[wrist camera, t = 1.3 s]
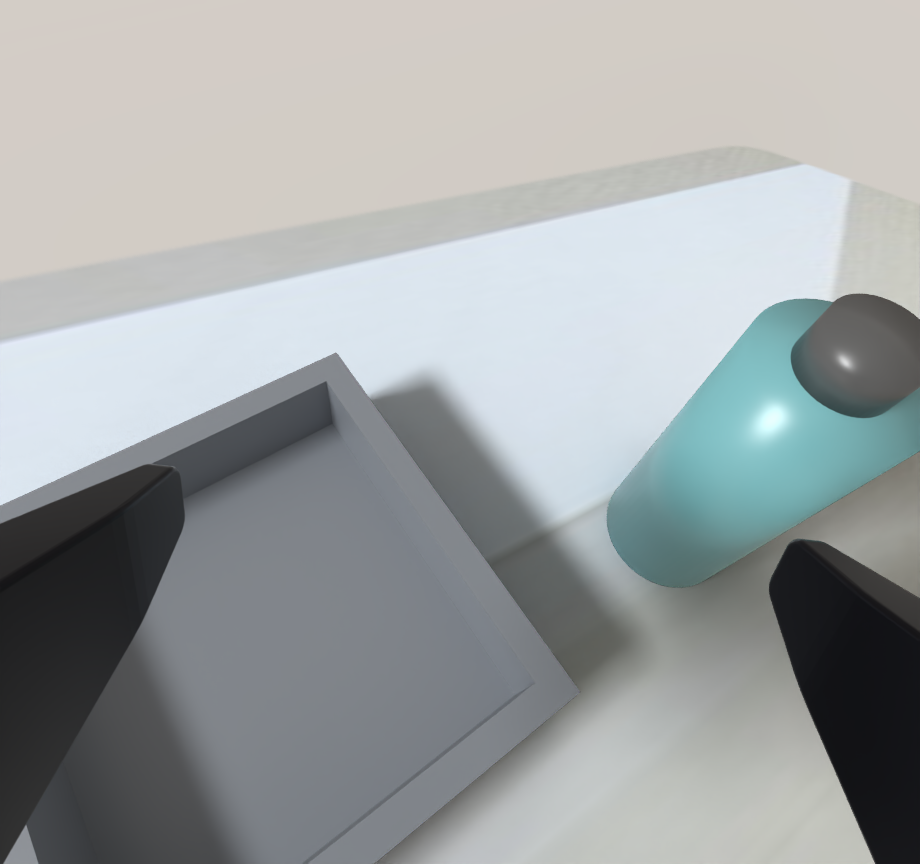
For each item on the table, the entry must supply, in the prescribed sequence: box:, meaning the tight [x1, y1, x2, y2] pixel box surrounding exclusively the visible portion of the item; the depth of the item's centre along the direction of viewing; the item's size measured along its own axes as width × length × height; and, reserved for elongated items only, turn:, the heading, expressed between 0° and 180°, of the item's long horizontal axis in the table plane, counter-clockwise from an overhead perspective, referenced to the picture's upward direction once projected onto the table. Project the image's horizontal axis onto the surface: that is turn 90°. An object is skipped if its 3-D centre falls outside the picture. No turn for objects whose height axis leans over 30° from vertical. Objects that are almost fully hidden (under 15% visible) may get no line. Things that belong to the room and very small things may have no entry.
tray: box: [0, 353, 580, 864], centre depth 20 cm, size 15×15×4 cm
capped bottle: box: [607, 294, 920, 587], centre depth 20 cm, size 5×5×13 cm
